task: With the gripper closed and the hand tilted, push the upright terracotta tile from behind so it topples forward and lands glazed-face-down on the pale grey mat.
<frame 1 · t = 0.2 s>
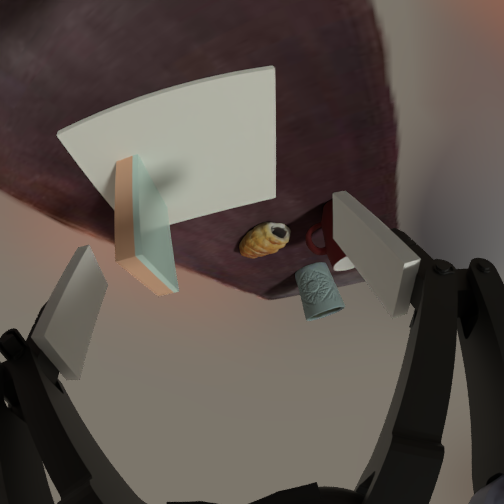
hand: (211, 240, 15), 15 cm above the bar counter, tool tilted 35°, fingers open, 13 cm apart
tile: (144, 186, 30), point 1 cm above the bar counter, touching mat
pastry: (262, 232, 50), on the bar counter
mat: (183, 164, 30), on the bar counter
green ceramic cup: (311, 269, 74), on the bar counter
mug: (326, 206, 46), on the bar counter
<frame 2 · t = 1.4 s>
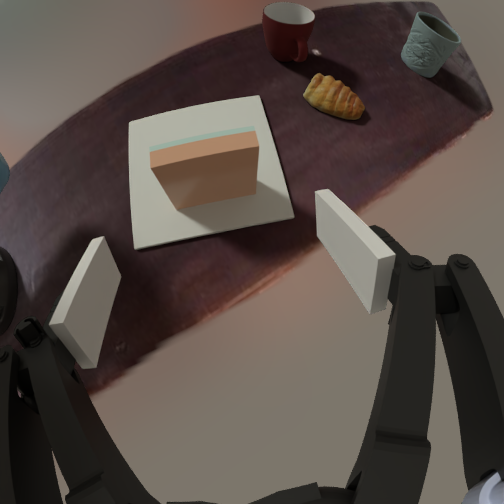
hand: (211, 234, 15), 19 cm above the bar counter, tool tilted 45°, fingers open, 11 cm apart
tile: (214, 192, 36), point 1 cm above the bar counter, touching mat
pastry: (329, 101, 41), on the bar counter
mat: (201, 163, 37), on the bar counter
green ceramic cup: (417, 63, 45), on the bar counter
mug: (287, 60, 43), on the bar counter
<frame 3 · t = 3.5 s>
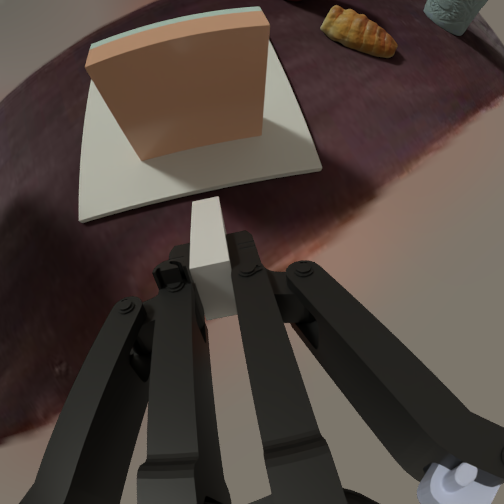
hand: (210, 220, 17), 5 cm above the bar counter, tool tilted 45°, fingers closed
tile: (198, 135, 22), point 1 cm above the bar counter, touching mat
pastry: (353, 39, 28), on the bar counter
mat: (182, 100, 24), on the bar counter
green ceramic cup: (442, 21, 31), on the bar counter
mug: (295, 0, 29), on the bar counter
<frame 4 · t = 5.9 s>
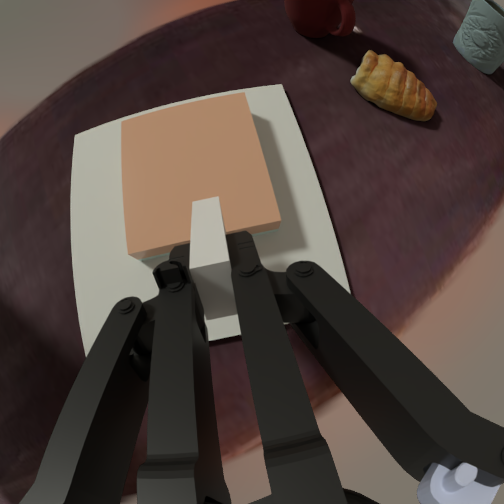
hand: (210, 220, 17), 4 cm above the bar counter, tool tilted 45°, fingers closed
tile: (205, 242, 19), point 2 cm above the bar counter, tilted 90°, touching mat
pastry: (385, 93, 25), on the bar counter
mat: (187, 204, 22), on the bar counter
green ceramic cup: (472, 55, 29), on the bar counter
mug: (316, 36, 27), on the bar counter
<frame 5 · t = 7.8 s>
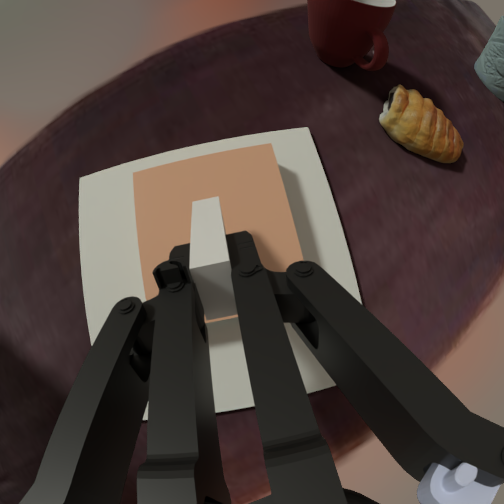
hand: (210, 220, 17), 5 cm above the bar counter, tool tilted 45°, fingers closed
tile: (232, 318, 18), point 2 cm above the bar counter, tilted 90°, touching mat
pastry: (412, 131, 24), on the bar counter
mat: (209, 269, 21), on the bar counter
green ceramic cup: (492, 82, 28), on the bar counter
mug: (340, 64, 26), on the bar counter
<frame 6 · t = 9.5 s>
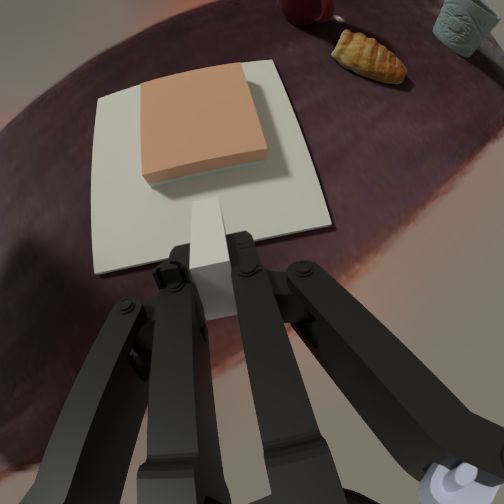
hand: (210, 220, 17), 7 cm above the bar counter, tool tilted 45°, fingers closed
tile: (205, 167, 23), point 2 cm above the bar counter, tilted 90°, touching mat
pastry: (362, 64, 29), on the bar counter
mat: (191, 146, 25), on the bar counter
green ceramic cup: (451, 42, 32), on the bar counter
mug: (304, 24, 31), on the bar counter
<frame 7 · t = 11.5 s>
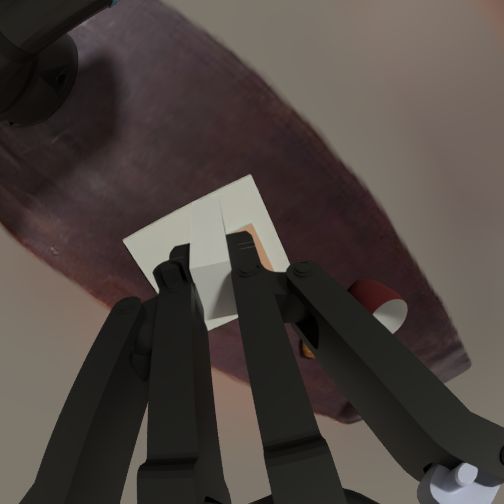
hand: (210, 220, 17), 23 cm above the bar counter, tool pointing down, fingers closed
tile: (197, 286, 42), point 2 cm above the bar counter, tilted 90°, touching mat
mat: (215, 264, 43), on the bar counter
mug: (353, 292, 51), on the bar counter
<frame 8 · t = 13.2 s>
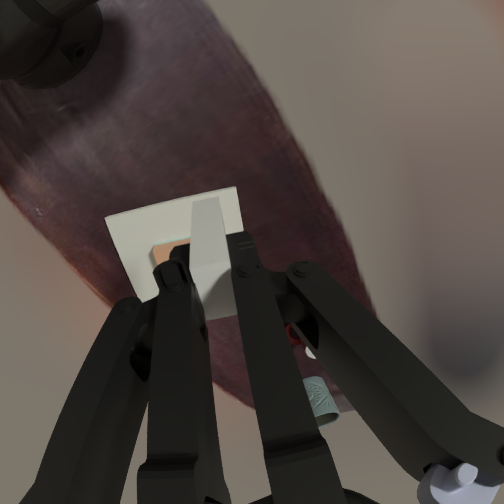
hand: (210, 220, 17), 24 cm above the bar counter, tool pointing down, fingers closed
tile: (163, 274, 45), point 2 cm above the bar counter, tilted 90°, touching mat
mat: (184, 258, 46), on the bar counter
green ceramic cup: (308, 384, 73), on the bar counter
mug: (304, 309, 56), on the bar counter
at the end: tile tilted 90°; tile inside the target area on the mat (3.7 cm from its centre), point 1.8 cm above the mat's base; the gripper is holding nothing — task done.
